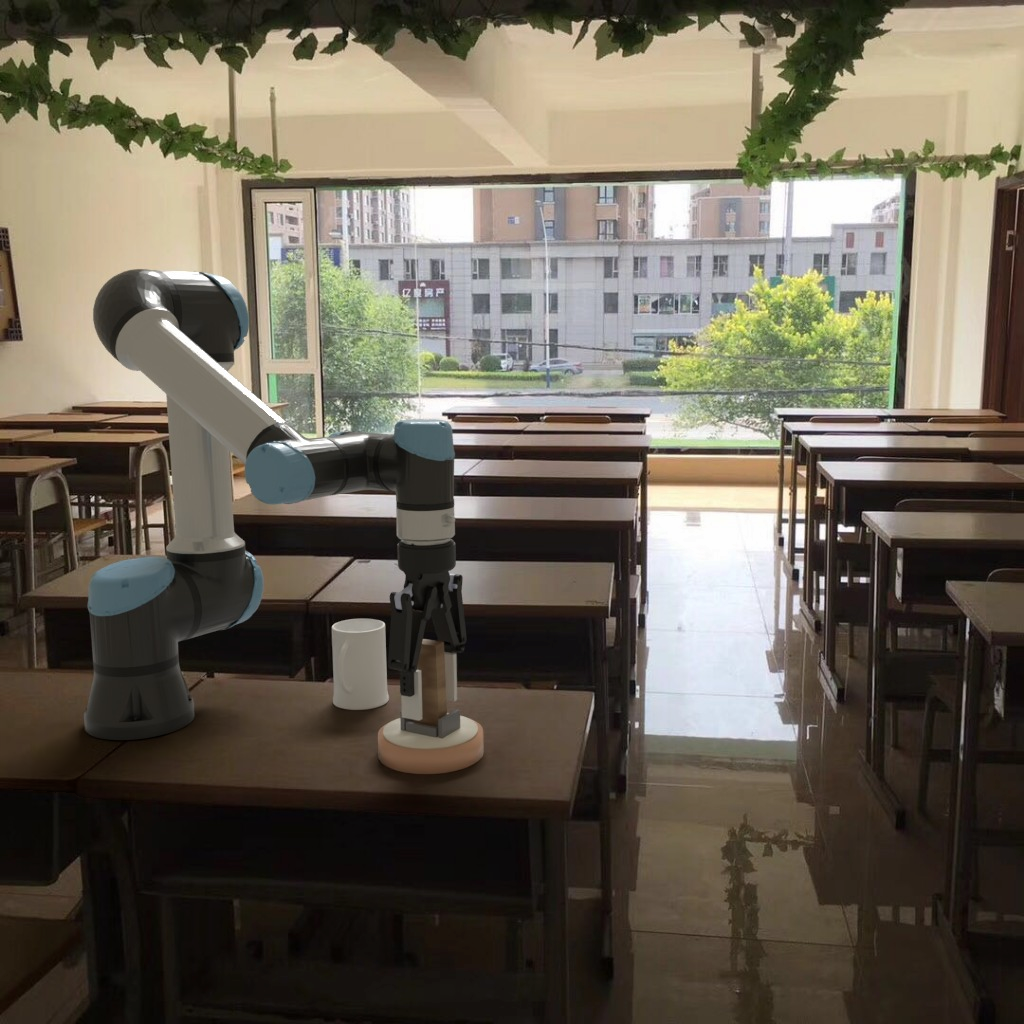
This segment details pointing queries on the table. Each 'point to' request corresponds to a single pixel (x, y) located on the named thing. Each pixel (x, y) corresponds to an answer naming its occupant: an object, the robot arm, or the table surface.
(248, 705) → the table surface
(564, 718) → the table surface
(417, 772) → the peach disc
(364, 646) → the mug
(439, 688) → the tall wooden post
